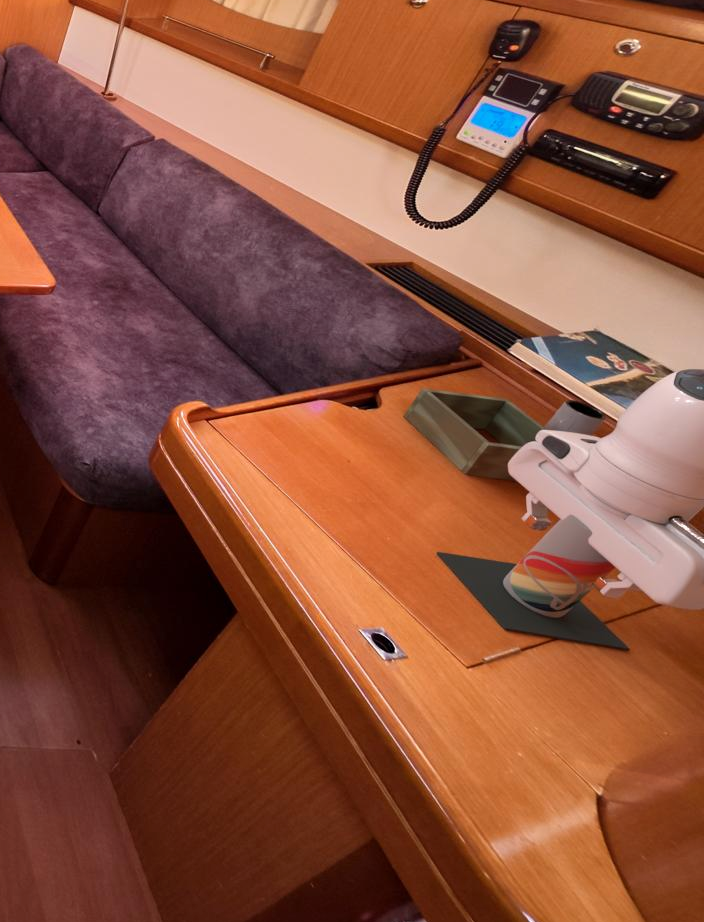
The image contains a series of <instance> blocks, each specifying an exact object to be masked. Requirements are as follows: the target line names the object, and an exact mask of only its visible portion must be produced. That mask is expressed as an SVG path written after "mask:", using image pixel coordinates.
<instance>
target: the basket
mask: <svg viewBox="0 0 704 922" xmlns="http://www.w3.org/2000/svg"><path fill="white" fill-rule="evenodd" d="M403 418H404V419H405V420H406V421H407V422H408V423H410V424H411V425H412V426H413V427H414V428H415V429H416V430H417V431H418V432H419V433H420V434H421V435H422V436H424V437H425V438H426V439H427V440H428V442H430V444H432V445H433V446H434V447H435V448H436V449H437V450H438V451H440V453H441V454H442V455H443V456H444V457H446V458H447V459H448V460H449V461H450V462H451V463H452V464H453V465H454V466H455V467H457V469H459V470H460V471H461V473H463V474H464V475H466V476H473V477H481V478H486V479H493V480H494V479H495V480H501V481H509V482H515V483H516V482H517V483H519V482H518V481H516V480H515V479H514V478H513V477H512V476H511V475H510V474H509V472H508V463H509V461H510V460H511V458H512V457H513V456H514V455H515V454H516V453H517V452H518V451H519V450H520V449H521V448H522V447H523V446H524V445H525V444H527V443H529V442H533V441H536V439H535V437H536V435H537V433H538V432H539V431H540V430H547V429H546V428H544V426H543V424H540V423H539V422H538V421H537V420H535V419H534V418H533V417H532V416H530V415H529V414H528V413H526V412H525V411H524V410H522V409H521V408H520V407H519V406H517V405H515V404H514V403H513V402H511V400H509V399H508V398H503V397H496V396H487V395H478V394H471V393H464V392H463V393H462V392H455V391H446V390H440V389H439V390H438V389H429V388H421V390H420V391H419V392H418V394H417V395H416V397H415V398H414V399H413V401H412V403H411V404H410V405H409V407H408V409H407V410H406V411H405V413H404V414H403ZM476 429H478V430H484V431H485V432H487V433H488V434H489V435H490V436H491V437H492V438H494V440H496V441H497V442H498V443H497V442H489V440H488V439H486V438H485V437H484V436H483V435H482V434H480V433H479V432H478V431H477V430H476ZM536 442H537V441H536Z"/></svg>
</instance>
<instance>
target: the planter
mask: <svg viewBox="0 0 704 922" xmlns="http://www.w3.org/2000/svg"><path fill="white" fill-rule="evenodd" d="M606 419H607V415H606V413H604V412H603V411H601V410H600V409H598V408H596V407H595V406H592V405H590V404H588V403H585V402H582V401H579V400H574V399H567V400H565V401H564V402H563V403H562V404H561V406H560V407H559V408H558V409H557V410H556V412H555V413H554V414H553V416H552V417H550V419H549V420H548V421H547V422H546V423H545V425H544V426H543V427H544V428H546V429H547V430H555V431H565V432H573V433H579V434H585V435H590V436H593V434H594V433H595V432H596V431H597V429H599V427H600V426H601V425H602V424H603V423H604V422H605V420H606Z"/></svg>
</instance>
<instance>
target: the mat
mask: <svg viewBox="0 0 704 922" xmlns="http://www.w3.org/2000/svg"><path fill="white" fill-rule="evenodd" d="M436 555H437V556H438V557H439V558H440V560H441V561H442V562H443V563H444V564H445V565H446V566H447V567H448V568H449V570H451V572H452V573H453V574H454V575H455V576H456V577H457V579H459V581H460V582H461V583H462V584H463V585H464V586H465V588H466V589H467V590H468V591H469V592H470V594H472V595H473V596H474V598H475V599H476V600H477V601H478V603H480V604H481V605H482V606H483V608H484V609H485V610H486V611H487V612H488V613H489V614H490V616H491V617H492V618H493V619H494V620H495V622H497V623H498V625H499V626H500V627H501V628H502V629H503V630H504V631H508V632H516V633H521V634H526V635H532V636H538V637H545V638H550V639H557V640H562V641H567V642H574V643H580V644H584V645H585V644H586V645H590V646H597V647H603V648H609V649H616V650H622V651H627V652H628V651H630V650H631V648H630V647H629V646H628V645H627V644H625V642H624V641H623V640H622V639H620V638H619V636H617V635H616V633H614V632H613V630H612V629H610V628H609V627H608V625H606V624H605V623H604V622H603V621H602V620H601V619H600V618H599V617H598V616H597V615H596V614H595V613H594V612H592V610H590V609H589V607H587V606H586V605H585V604H584V603H583V602H582V601H581V600H580V601H579V602H578V603H577V604H576V605H575V606H574V607H573V608H571V609H570V610H569V611H568V612H567V613H566V614H565V615H563V616H561V617H559V618H552V617H547V616H544V615H541V614H539V613H537V612H535V611H533V610H531V609H529V608H527V607H526V606H524V605H523V604H521V603H520V602H518V601H517V600H516V599H515V598H514V597H512V596H511V595H510V594H509V592H508V591H507V590H506V588H505V587H504V584H503V581H504V578H505V577H506V576H507V575H508V573H509V572H510V571H511V570H512V569H513V568H514V567H515V566H516V565H517V564H518V563H513V562H506V561H500V560H493V559H487V558H482V557H481V558H480V557H475V556H474V557H473V556H468V555H460V554H455V553H448V552H441V551H437V552H436Z"/></svg>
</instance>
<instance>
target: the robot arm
mask: <svg viewBox="0 0 704 922" xmlns="http://www.w3.org/2000/svg"><path fill="white" fill-rule="evenodd" d="M535 439H536V441H537V442H536V441H533V442H529V443H527V444H525V445H524V446H523V447H522V448H521V449H520V450H519V451H518V452H517V453H516V454H515V455H514V456H513V457H512V458H511V460H510V461H509V463H508V472H509V474H510V475H511V476H512V477H513V478H514V479H515V480H516V481H518V482H517V483H519V484H520V485H521V486H522V487H523V488H524V489H525V490H527V491H528V493H527V494H526V495H525V502H526V511H527V512H526V513H525V514H524V515H523V516H522V517H521V520H522V521H523V522H524V523H525V524H526V526H528V527H529V528H530V529H532V530H538V531H541V532H543V531H546V530H547V529H548V527H550V526H551V525H552V524H553V522H552V521H551V520H550V519H549V518H548V513H549V512H548V511H551V512H552V514H554V515H555V516H556V517H557V518H558V519H559V520H560V519H561V520H563V519H565V518H566V517H567V516H568V515H573V516H575V517H576V518H577V519H579V520H580V521H581V522H582V523H584V524H585V525H586V526H587V527H588V528H589V529H590V530H591V531H592V535H591V536H590V538H589V539H588V543H589V544H590V545H591V546H592V547H593V548H594V549H595V550H596V551H598V552H599V553H600V554H601V555H602V556H603V557H604V558H606V559H607V560H608V561H609V562H610V563H611V564H612V565H614V566H615V567H616V568H615V569H617V570H618V571H619V574H618V575H617V578H618V579H619V580H620V581H619V580H617V579H616V578H610V577H609V578H608V577H598V578H597V579H596V582H593V583H592V585H593V586H594V588H595V589H596V590H597V592H599V593H600V594H601V595H602V596H603V597H605V598H611V599H620V598H622V597H623V596H624V595H625V594H626V593H627V592H643V593H644V594H645V595H646V596H647V597H649V598H650V599H651V600H652V601H653V602H654V603H657V604H659V605H662V606H666V607H671V608H676V609H681V610H688V611H689V610H690V611H699V610H702V609H704V534H703V533H702V532H701V531H700V530H699V529H697V528H696V527H695V526H693V525H692V524H691V523H689V521H691V520H692V519H693V518H694V517H695V516H696V515H697V514H698V513H699V512H701V510H703V508H704V369H701V368H687V369H685V368H684V369H680V370H677V371H674V372H672V373H670V374H668V375H666V376H664V377H663V378H661V379H659V380H657V382H655V383H654V384H651V386H650V387H648V388H647V389H645V390H644V391H643V392H642V393H641V394H640V395H639V396H638V397H637V398H635V399H634V400H633V401H632V402H631V404H629V405H628V407H627V408H626V409H625V410H624V411H623V412H622V413H621V414H620V415H619V417H618V418H617V421H616V426H615V428H614V430H613V431H612V432H611V433H609V434H607V435H605V436H603V437H598V436H595V435H591V436H590V435H585V434H579V433H573V432H565V431H555V430H540V431H539V432H538V433H537V435H536V437H535Z"/></svg>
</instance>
